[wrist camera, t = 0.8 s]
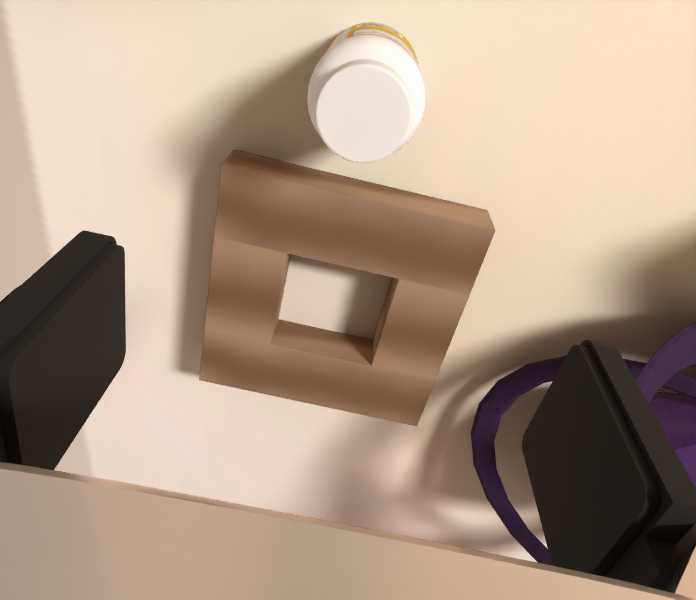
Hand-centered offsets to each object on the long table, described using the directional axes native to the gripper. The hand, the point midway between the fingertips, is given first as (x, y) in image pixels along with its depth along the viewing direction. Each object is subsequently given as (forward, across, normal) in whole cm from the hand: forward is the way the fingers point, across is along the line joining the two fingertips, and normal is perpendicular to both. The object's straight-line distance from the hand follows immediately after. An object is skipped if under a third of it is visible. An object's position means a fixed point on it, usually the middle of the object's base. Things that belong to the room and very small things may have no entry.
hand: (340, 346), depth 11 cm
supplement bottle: (+24, 0, -1) cm, 24 cm away
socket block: (+23, 0, +13) cm, 27 cm away
